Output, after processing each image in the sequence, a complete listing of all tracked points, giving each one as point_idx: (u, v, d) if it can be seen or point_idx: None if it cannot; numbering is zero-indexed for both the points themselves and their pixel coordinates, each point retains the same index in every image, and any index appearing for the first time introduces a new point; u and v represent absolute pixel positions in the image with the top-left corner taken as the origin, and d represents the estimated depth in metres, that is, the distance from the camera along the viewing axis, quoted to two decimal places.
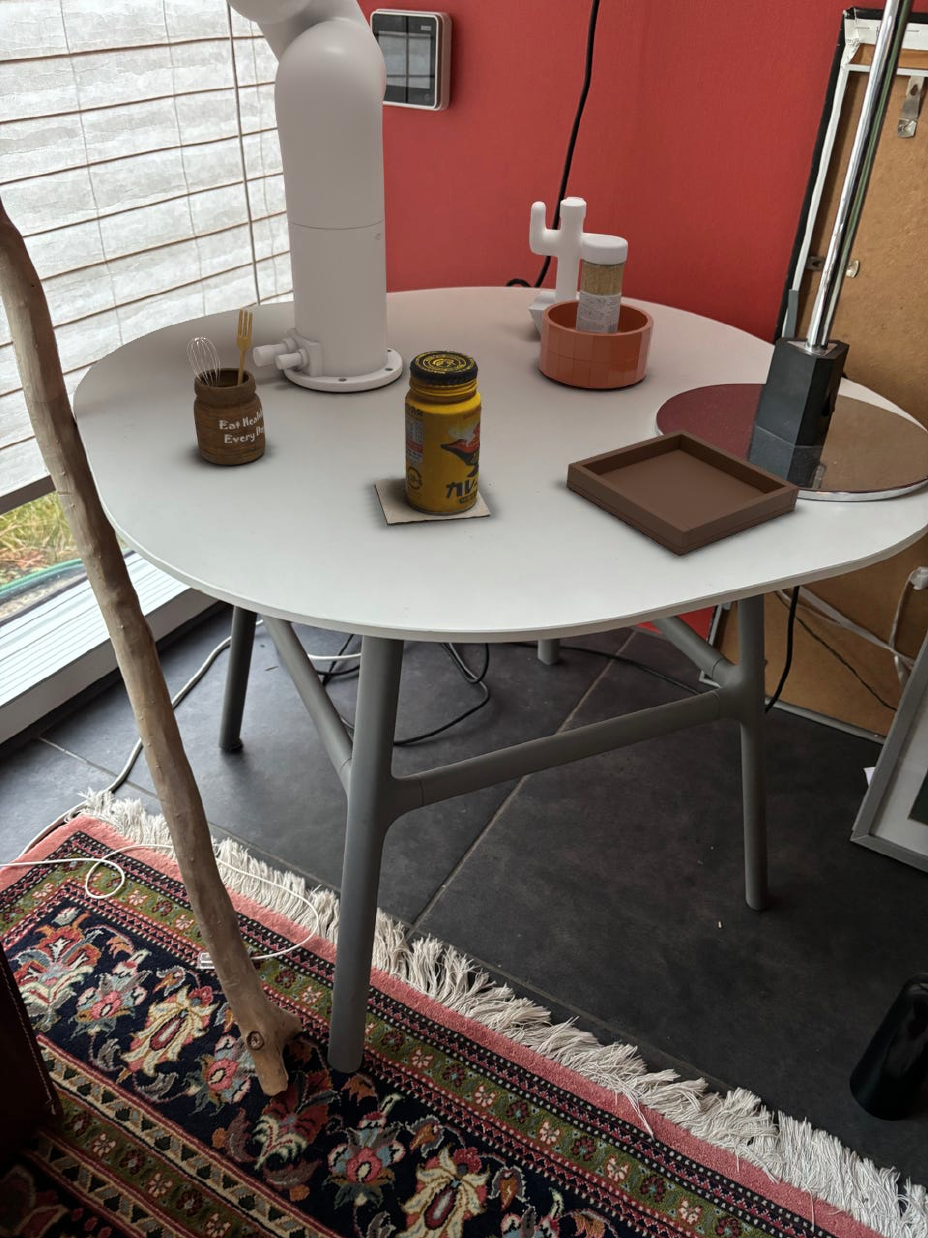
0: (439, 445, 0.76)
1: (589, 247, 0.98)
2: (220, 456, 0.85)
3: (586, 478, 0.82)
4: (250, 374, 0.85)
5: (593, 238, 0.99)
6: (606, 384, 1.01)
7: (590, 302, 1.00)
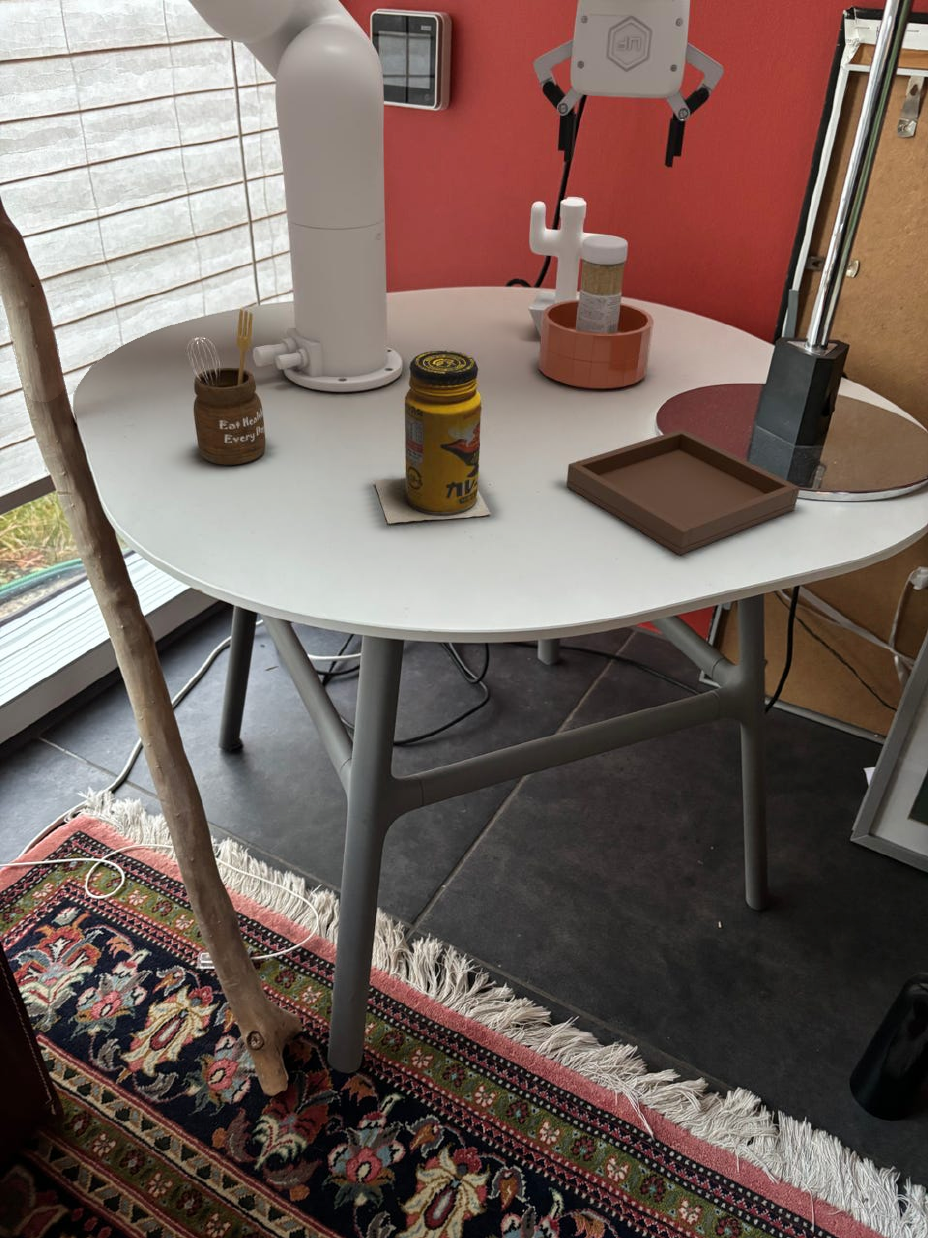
0: (439, 445, 0.76)
1: (589, 247, 0.98)
2: (220, 456, 0.85)
3: (586, 478, 0.82)
4: (250, 374, 0.85)
5: (593, 238, 0.99)
6: (606, 384, 1.01)
7: (590, 302, 1.00)
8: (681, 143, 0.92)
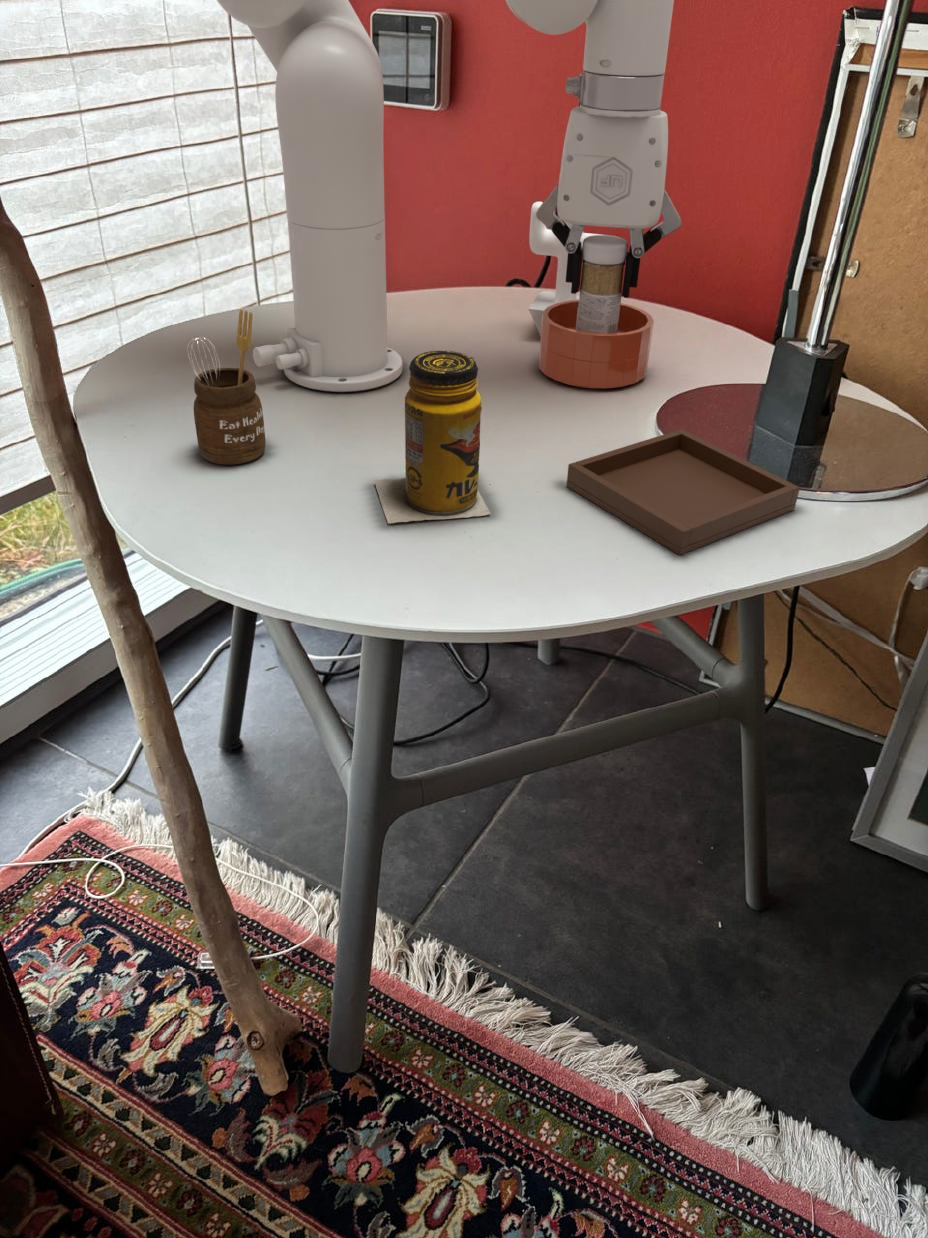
0: (439, 445, 0.76)
1: (589, 247, 0.98)
2: (220, 456, 0.85)
3: (586, 478, 0.82)
4: (250, 374, 0.85)
5: (593, 238, 0.99)
6: (606, 384, 1.01)
7: (590, 302, 1.00)
8: (637, 276, 0.99)
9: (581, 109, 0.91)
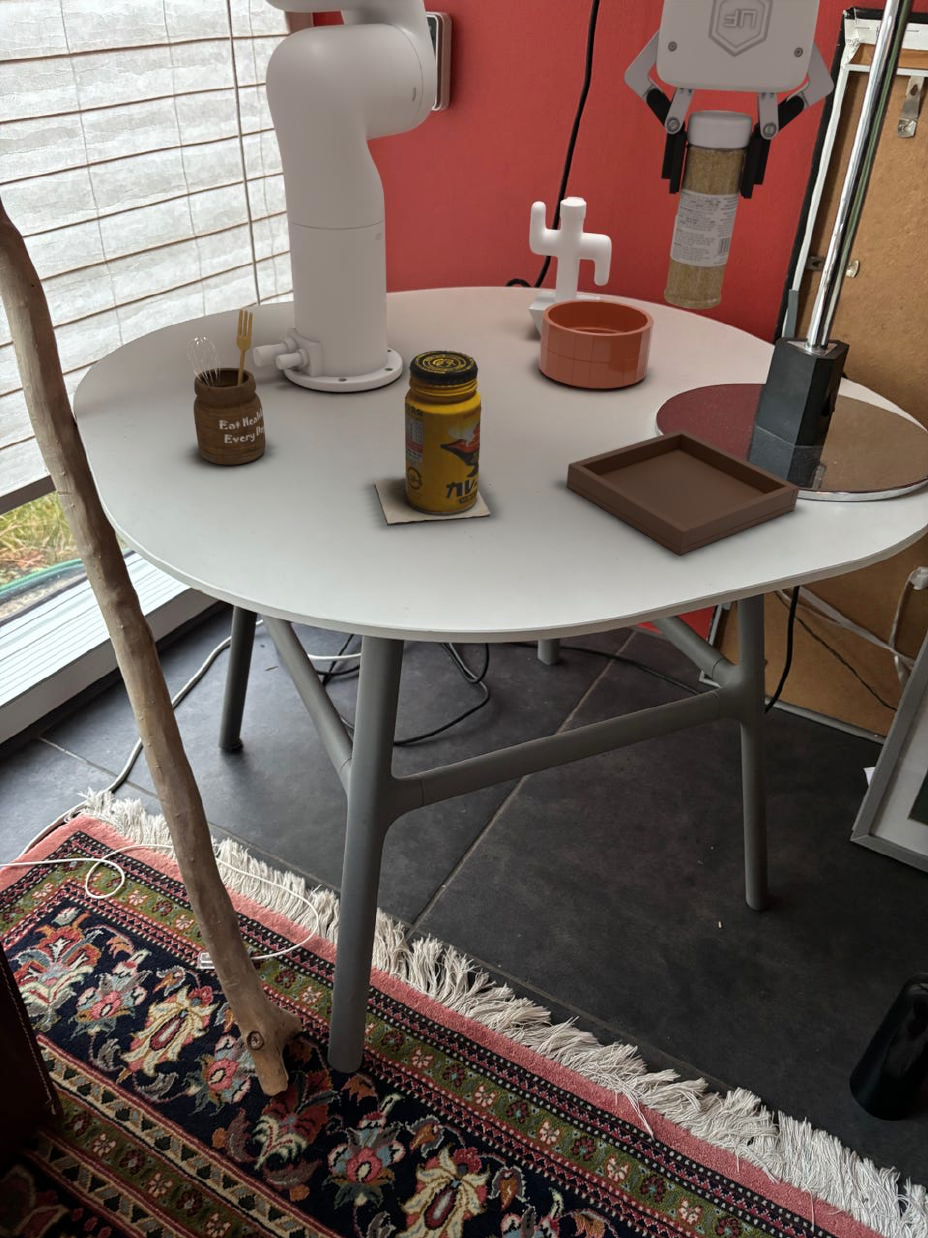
0: (439, 445, 0.76)
1: (700, 124, 0.69)
2: (220, 456, 0.85)
3: (586, 478, 0.82)
4: (250, 374, 0.85)
5: (703, 113, 0.70)
6: (606, 384, 1.01)
7: (697, 205, 0.72)
8: (764, 168, 0.70)
9: None
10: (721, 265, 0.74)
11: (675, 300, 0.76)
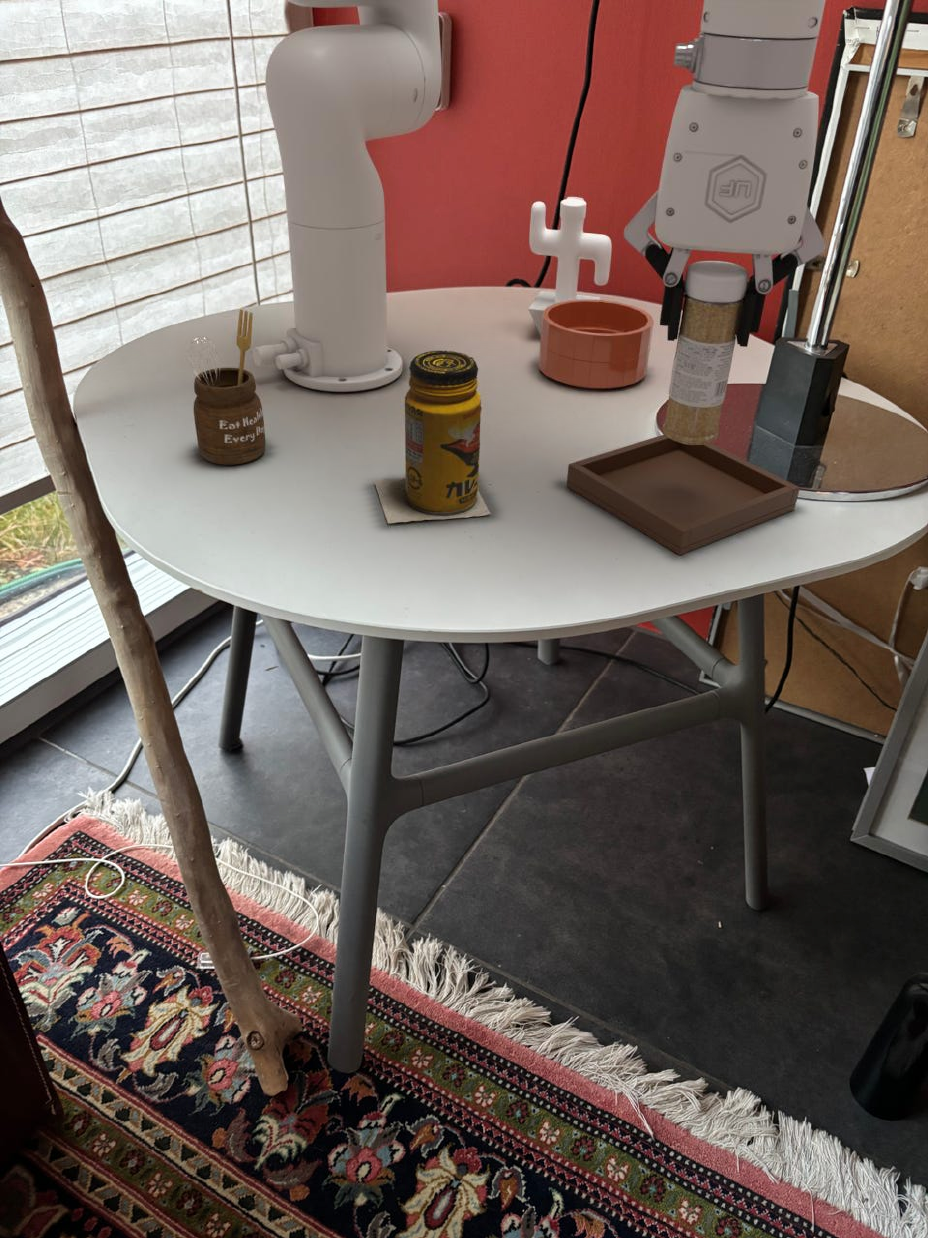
0: (439, 445, 0.76)
1: (697, 279, 0.71)
2: (220, 456, 0.85)
3: (586, 478, 0.82)
4: (250, 374, 0.85)
5: (701, 266, 0.72)
6: (606, 384, 1.01)
7: (695, 353, 0.74)
8: (759, 318, 0.73)
9: (696, 88, 0.65)
10: (718, 405, 0.77)
11: (673, 436, 0.78)
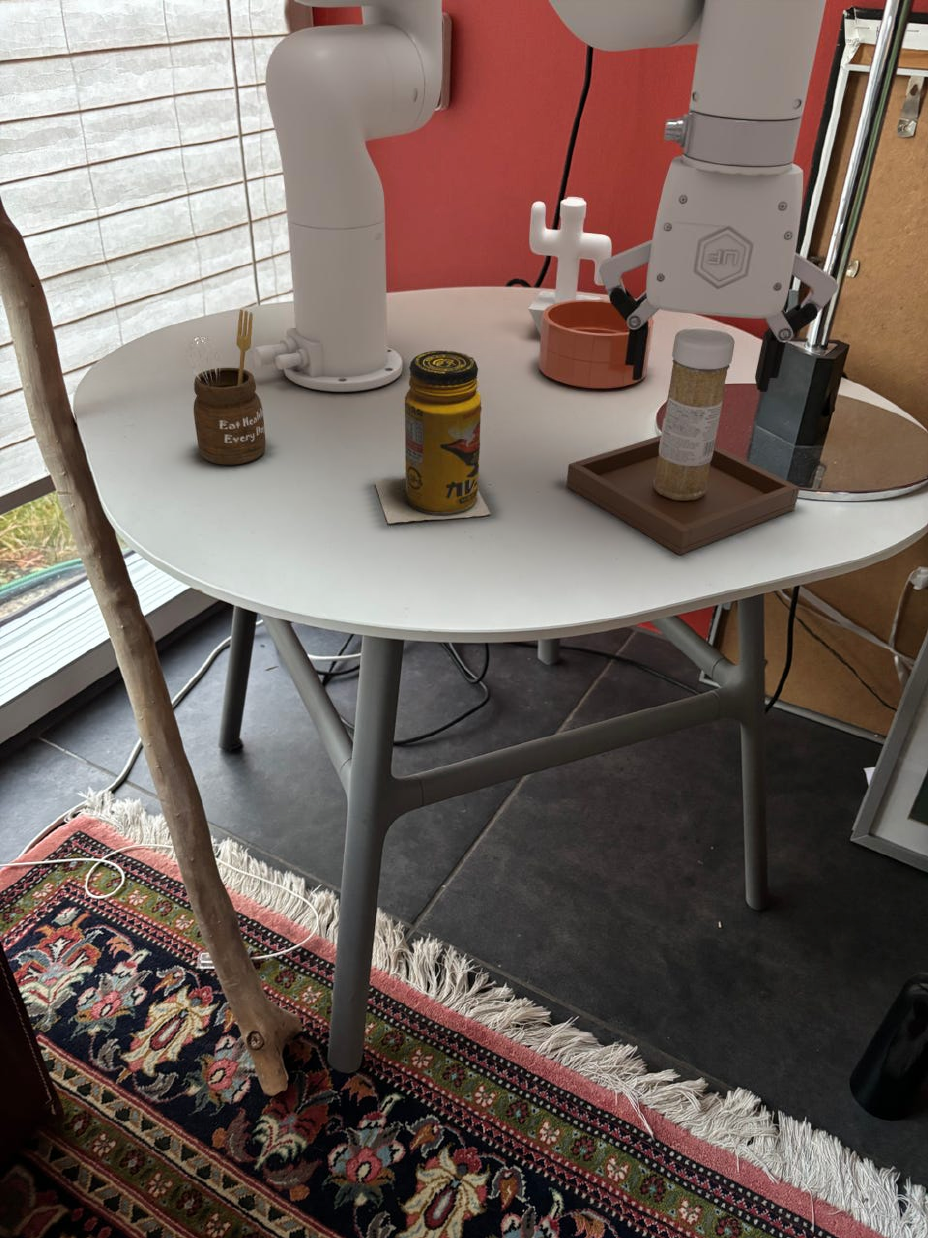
0: (439, 445, 0.76)
1: (684, 347, 0.74)
2: (220, 456, 0.85)
3: (586, 478, 0.82)
4: (250, 374, 0.85)
5: (688, 333, 0.75)
6: (606, 384, 1.01)
7: (683, 415, 0.77)
8: (779, 365, 0.75)
9: (685, 162, 0.67)
10: (706, 463, 0.80)
11: (663, 492, 0.81)
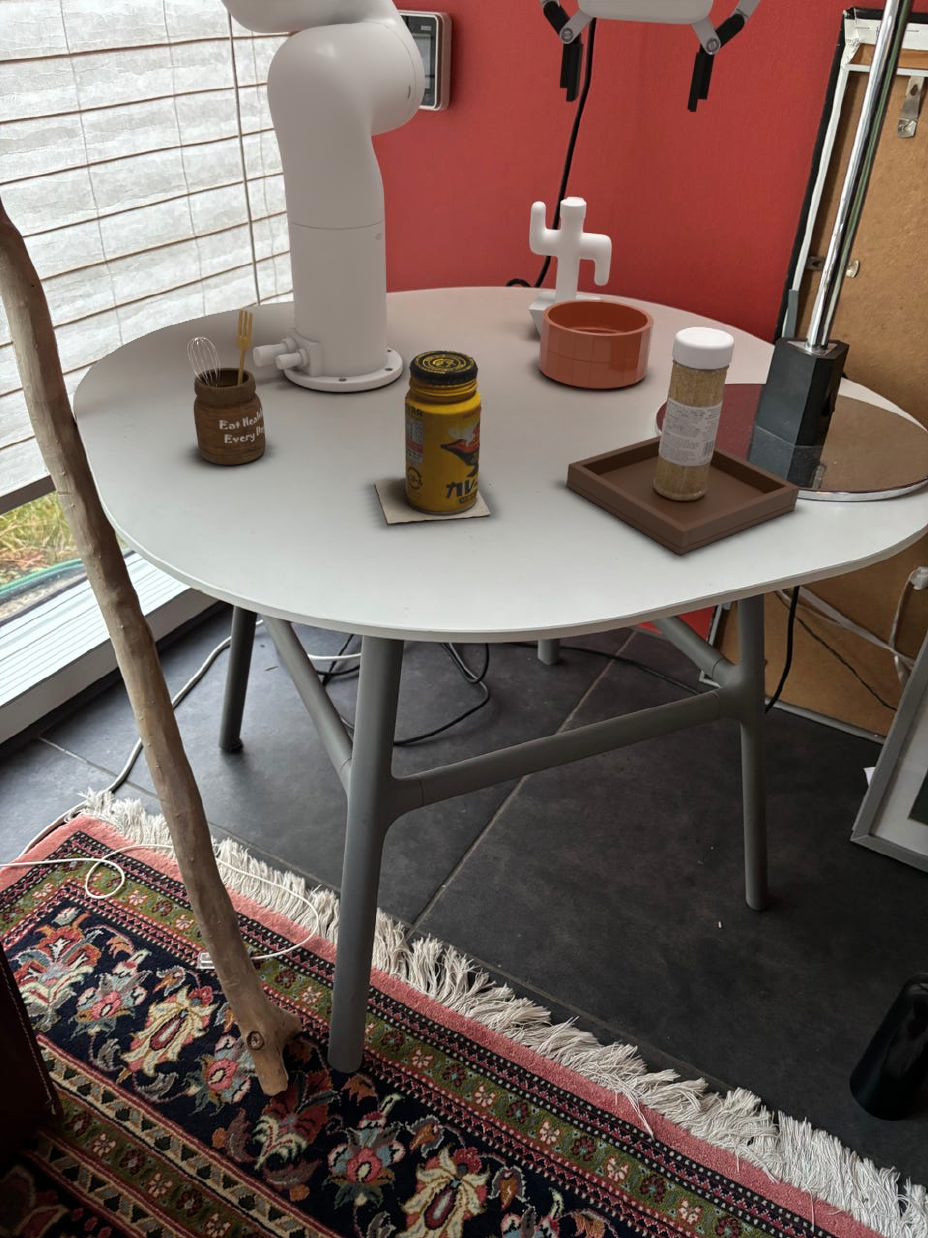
0: (439, 445, 0.76)
1: (684, 347, 0.74)
2: (220, 456, 0.85)
3: (586, 478, 0.82)
4: (250, 374, 0.85)
5: (688, 333, 0.75)
6: (606, 384, 1.01)
7: (683, 415, 0.77)
8: (708, 83, 0.76)
9: None
10: (706, 463, 0.80)
11: (663, 492, 0.81)
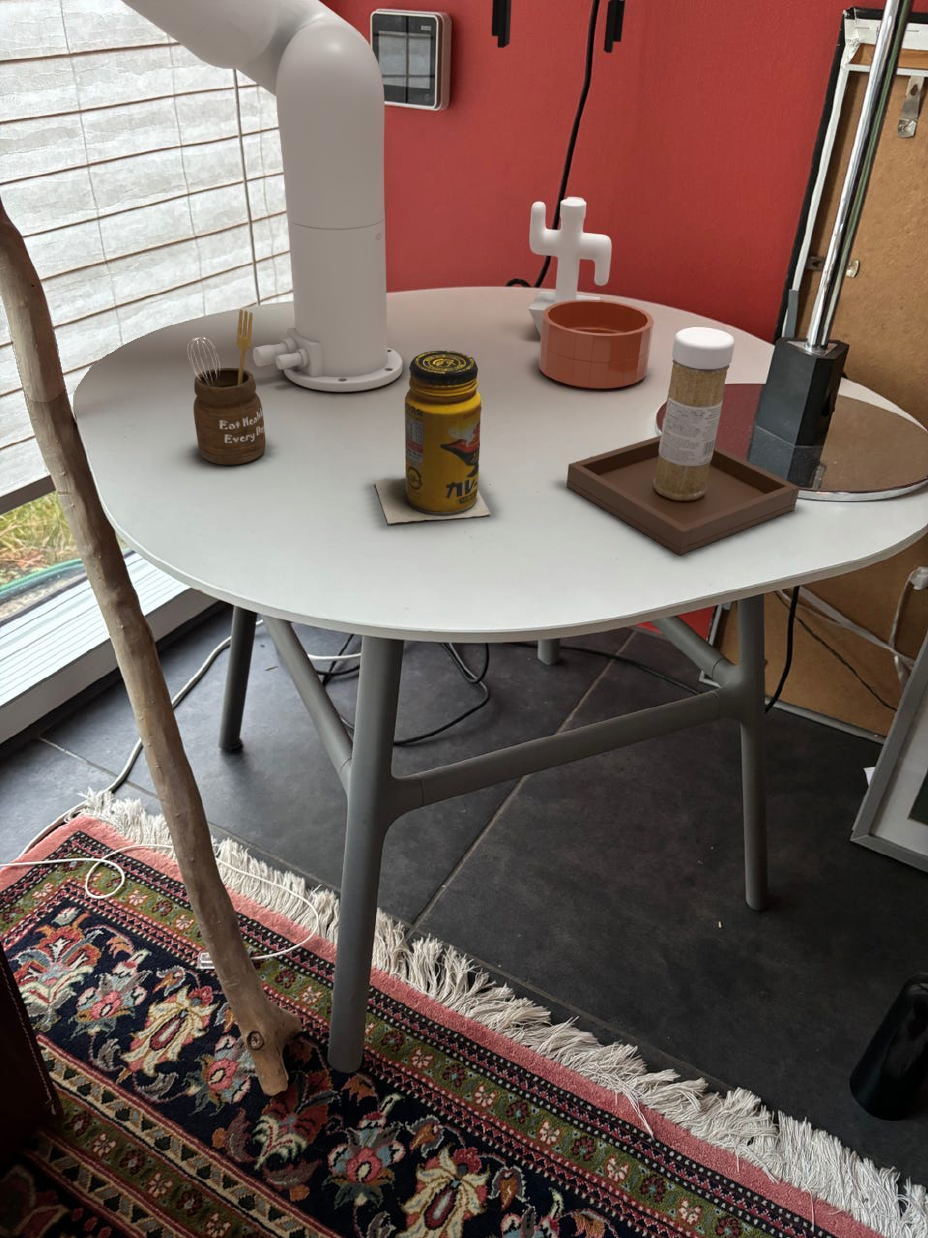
0: (439, 445, 0.76)
1: (684, 347, 0.74)
2: (220, 456, 0.85)
3: (586, 478, 0.82)
4: (250, 374, 0.85)
5: (688, 333, 0.75)
6: (606, 384, 1.01)
7: (683, 415, 0.77)
8: (620, 26, 0.87)
9: None
10: (706, 463, 0.80)
11: (663, 492, 0.81)
